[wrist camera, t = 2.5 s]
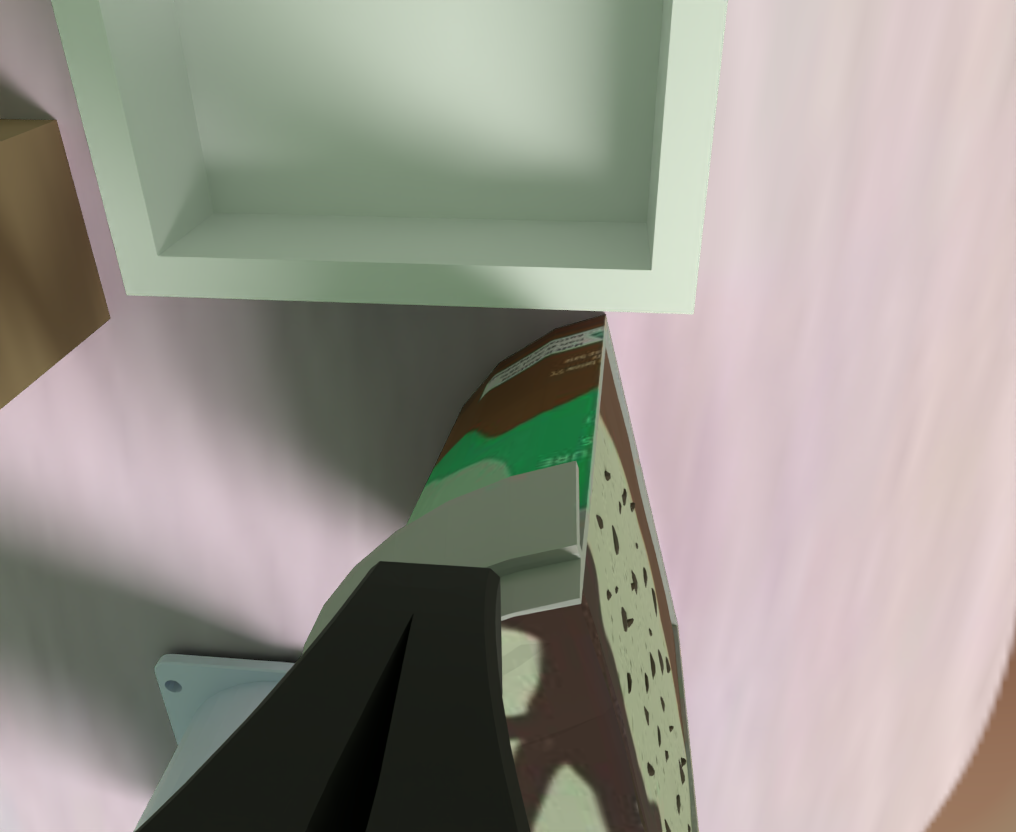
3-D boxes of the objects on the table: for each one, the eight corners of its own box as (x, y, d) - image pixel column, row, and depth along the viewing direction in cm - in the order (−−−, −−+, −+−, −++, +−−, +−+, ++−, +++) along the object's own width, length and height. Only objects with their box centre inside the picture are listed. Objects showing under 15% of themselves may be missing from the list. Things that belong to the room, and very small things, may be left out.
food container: (324, 308, 19) (95, 628, 11) (591, 249, 18) (569, 562, 9) (476, 687, 25) (405, 1088, 17) (687, 664, 24) (728, 1090, 15)
